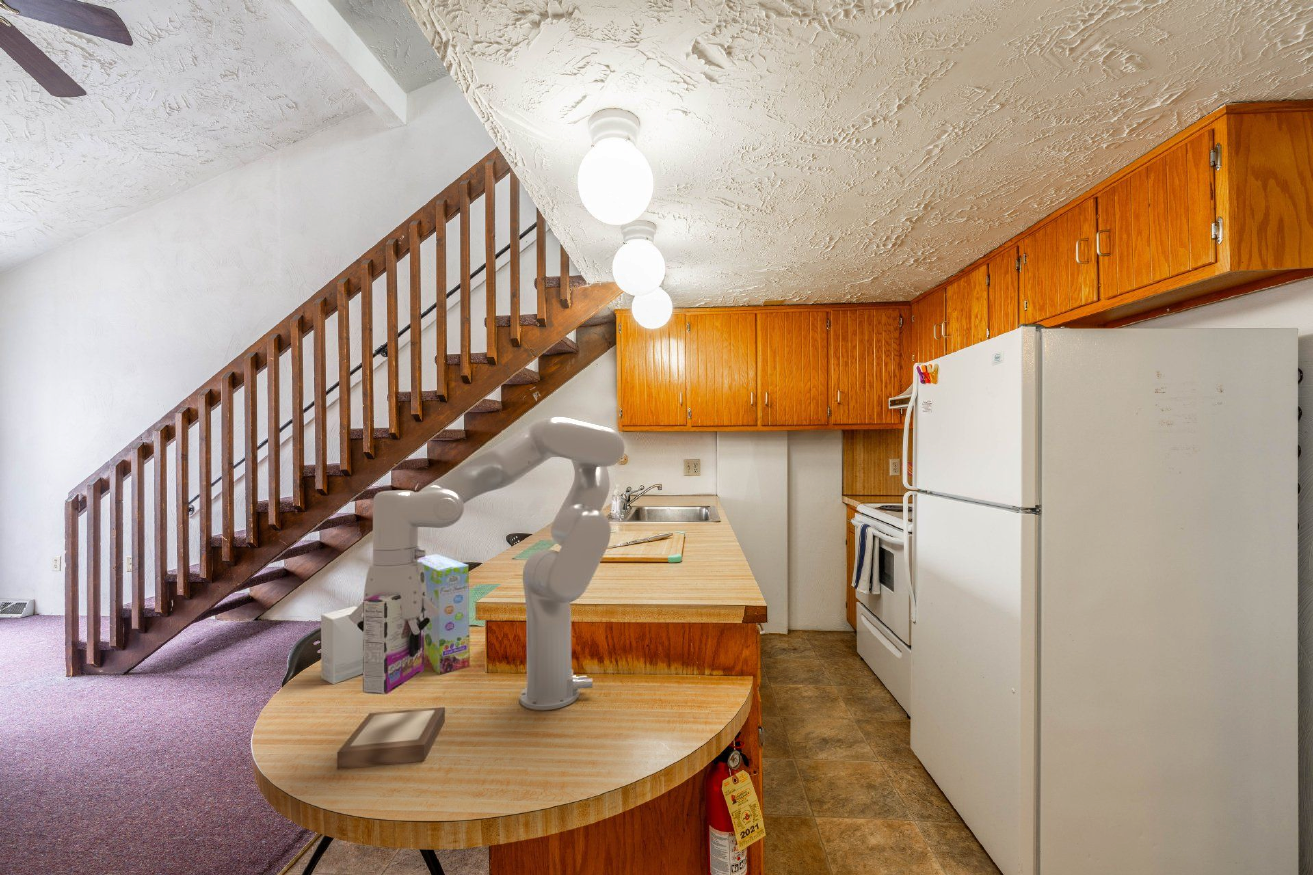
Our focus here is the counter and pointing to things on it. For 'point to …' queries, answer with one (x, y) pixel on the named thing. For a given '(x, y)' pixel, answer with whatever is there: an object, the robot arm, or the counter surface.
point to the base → (392, 738)
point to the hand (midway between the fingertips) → (394, 654)
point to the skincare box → (340, 646)
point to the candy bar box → (387, 645)
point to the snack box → (447, 614)
